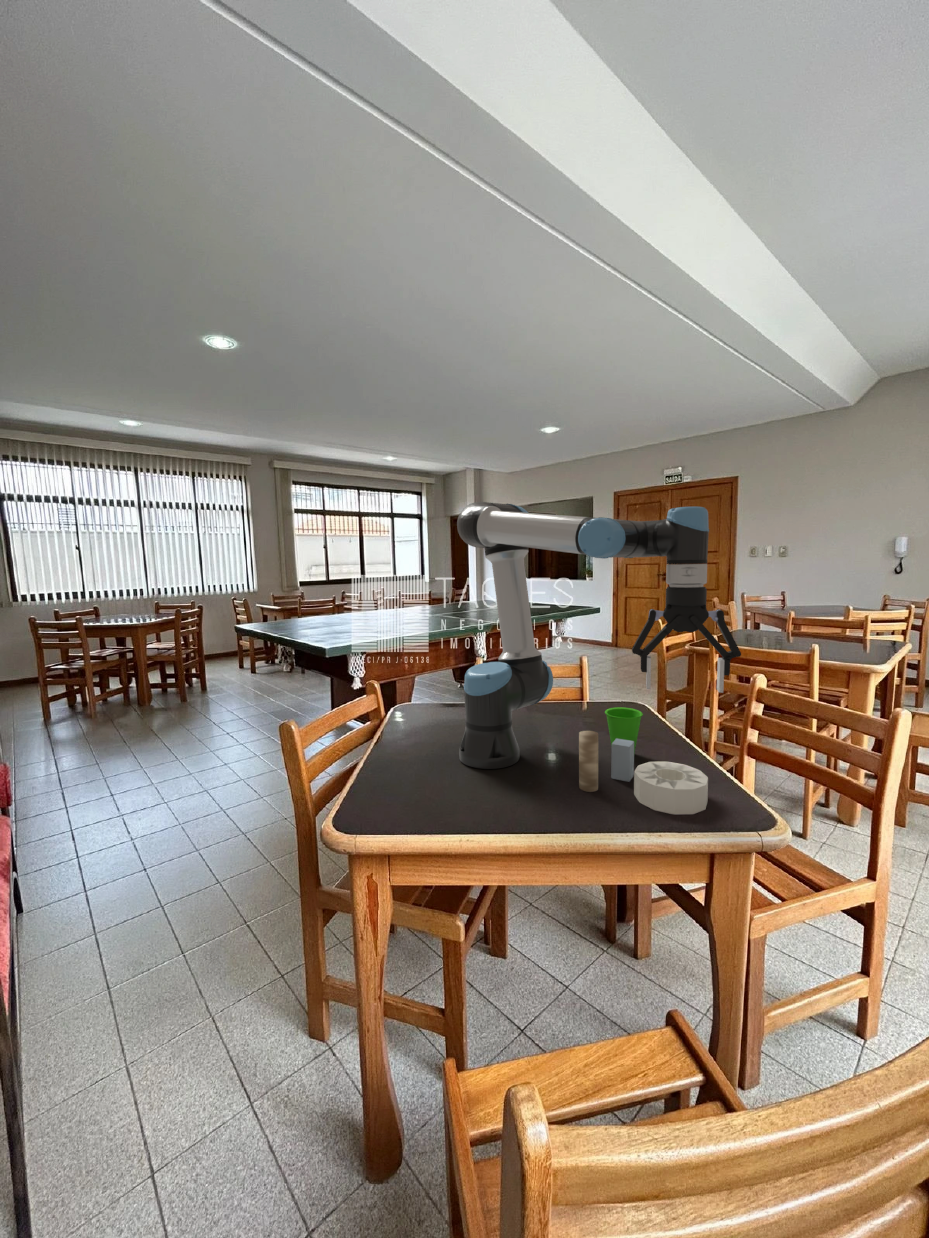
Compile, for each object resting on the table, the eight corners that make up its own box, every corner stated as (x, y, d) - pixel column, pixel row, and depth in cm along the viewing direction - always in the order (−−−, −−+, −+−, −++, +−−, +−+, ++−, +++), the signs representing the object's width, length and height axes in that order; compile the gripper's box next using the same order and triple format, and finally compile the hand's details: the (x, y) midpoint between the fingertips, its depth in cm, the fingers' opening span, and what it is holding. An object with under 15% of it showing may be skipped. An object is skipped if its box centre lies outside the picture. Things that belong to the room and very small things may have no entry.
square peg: (611, 778, 113) (611, 743, 112) (615, 771, 116) (616, 738, 115) (629, 781, 111) (629, 746, 110) (633, 775, 114) (634, 741, 113)
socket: (628, 804, 100) (628, 780, 100) (642, 778, 112) (643, 757, 111) (702, 820, 93) (703, 794, 93) (709, 791, 105) (710, 768, 104)
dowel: (576, 789, 108) (576, 735, 106) (582, 782, 111) (582, 729, 110) (595, 793, 106) (595, 738, 104) (600, 785, 109) (600, 732, 108)
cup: (644, 763, 121) (645, 718, 120) (605, 760, 123) (606, 717, 121) (639, 749, 129) (640, 707, 128) (603, 747, 131) (603, 706, 130)
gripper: (621, 587, 101) (619, 690, 103) (761, 586, 94) (756, 697, 96) (620, 585, 108) (619, 682, 110) (751, 584, 101) (746, 687, 103)
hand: (683, 689), depth 103 cm, fingers open, 13 cm apart
